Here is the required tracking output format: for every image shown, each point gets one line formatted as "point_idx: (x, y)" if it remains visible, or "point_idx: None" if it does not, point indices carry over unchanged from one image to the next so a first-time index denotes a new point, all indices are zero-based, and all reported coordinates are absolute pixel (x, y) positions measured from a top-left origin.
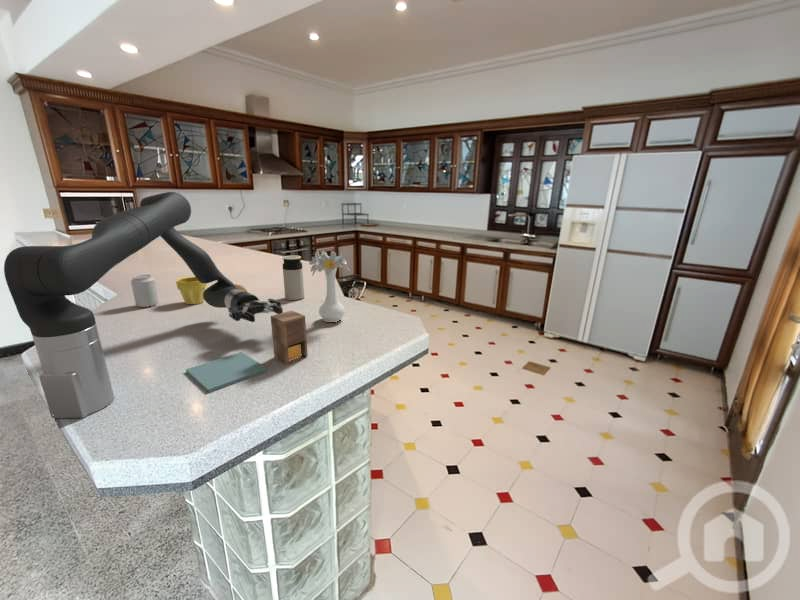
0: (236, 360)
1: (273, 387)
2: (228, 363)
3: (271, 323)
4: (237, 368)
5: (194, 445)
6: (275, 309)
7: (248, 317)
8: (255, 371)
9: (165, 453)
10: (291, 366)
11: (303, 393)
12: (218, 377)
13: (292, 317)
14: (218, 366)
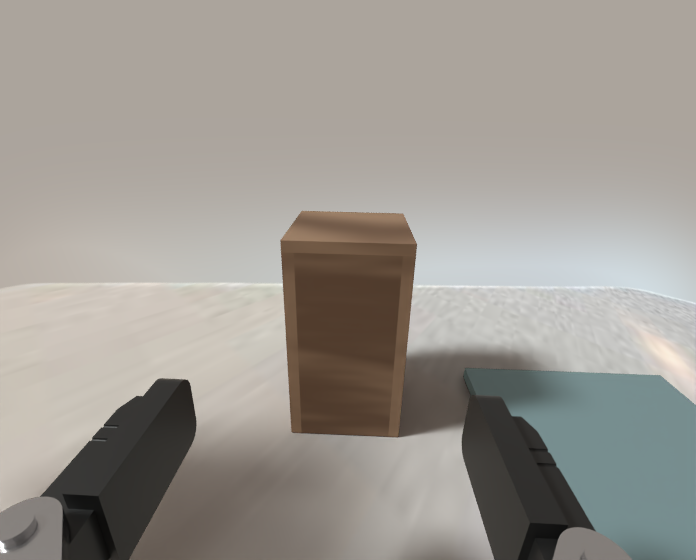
0: (585, 494)
1: (472, 322)
2: (628, 492)
3: (412, 283)
4: (573, 424)
5: (627, 294)
6: (143, 481)
7: (528, 434)
8: (505, 372)
9: (674, 301)
10: None
11: (426, 289)
12: (645, 412)
13: (349, 216)
14: (681, 496)
